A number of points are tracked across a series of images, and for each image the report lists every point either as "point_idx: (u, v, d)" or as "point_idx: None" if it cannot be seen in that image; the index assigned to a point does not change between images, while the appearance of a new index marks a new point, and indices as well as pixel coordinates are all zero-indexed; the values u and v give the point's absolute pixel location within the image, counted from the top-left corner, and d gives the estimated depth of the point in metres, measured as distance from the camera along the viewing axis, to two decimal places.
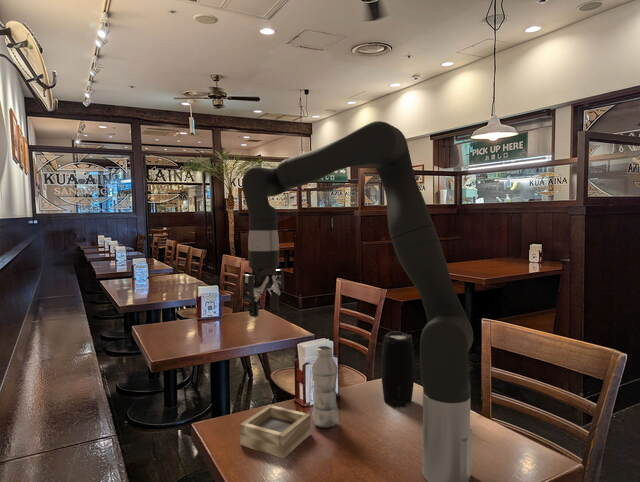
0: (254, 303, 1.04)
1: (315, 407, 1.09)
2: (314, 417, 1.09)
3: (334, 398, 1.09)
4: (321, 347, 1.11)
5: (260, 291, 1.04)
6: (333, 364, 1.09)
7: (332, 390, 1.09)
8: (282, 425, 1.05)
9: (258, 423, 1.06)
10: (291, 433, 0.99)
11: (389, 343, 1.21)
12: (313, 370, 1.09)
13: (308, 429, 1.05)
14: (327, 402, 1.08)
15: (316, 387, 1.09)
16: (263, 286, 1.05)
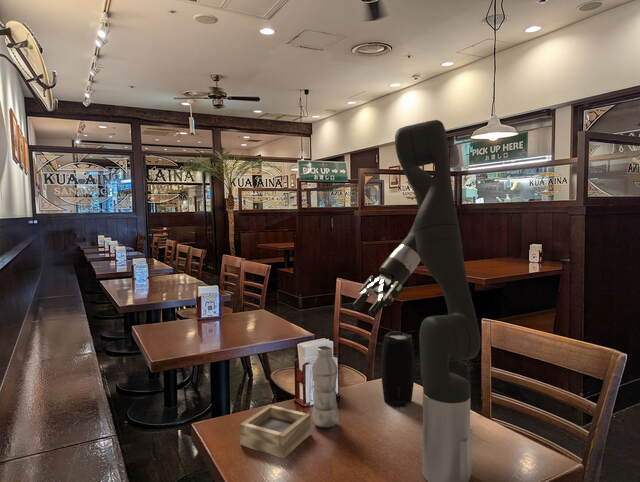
0: (360, 296, 1.19)
1: (315, 407, 1.09)
2: (314, 417, 1.09)
3: (334, 398, 1.09)
4: (321, 347, 1.11)
5: (366, 287, 1.18)
6: (333, 364, 1.09)
7: (332, 390, 1.09)
8: (282, 425, 1.05)
9: (258, 423, 1.06)
10: (291, 433, 0.99)
11: (389, 343, 1.21)
12: (313, 370, 1.09)
13: (308, 429, 1.05)
14: (327, 402, 1.08)
15: (316, 387, 1.09)
16: (371, 284, 1.17)
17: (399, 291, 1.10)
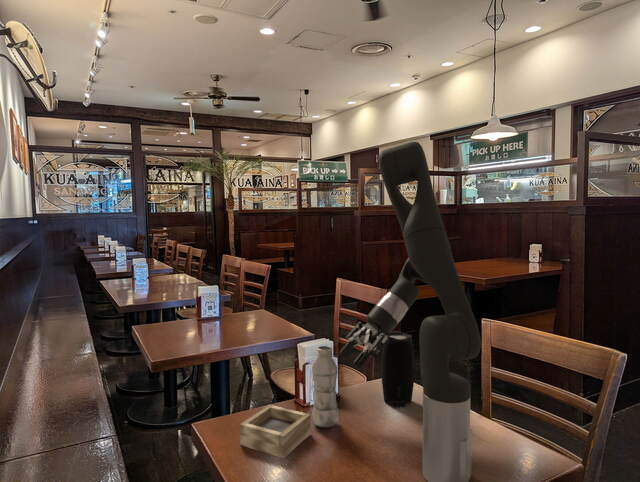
0: (347, 343, 1.18)
1: (315, 407, 1.09)
2: (314, 417, 1.09)
3: (334, 398, 1.09)
4: (321, 347, 1.11)
5: (353, 335, 1.17)
6: (333, 364, 1.09)
7: (332, 390, 1.09)
8: (282, 425, 1.05)
9: (258, 423, 1.06)
10: (291, 433, 0.99)
11: (389, 343, 1.21)
12: (313, 370, 1.09)
13: (308, 429, 1.05)
14: (327, 402, 1.08)
15: (316, 387, 1.09)
16: (357, 332, 1.16)
17: (384, 343, 1.08)
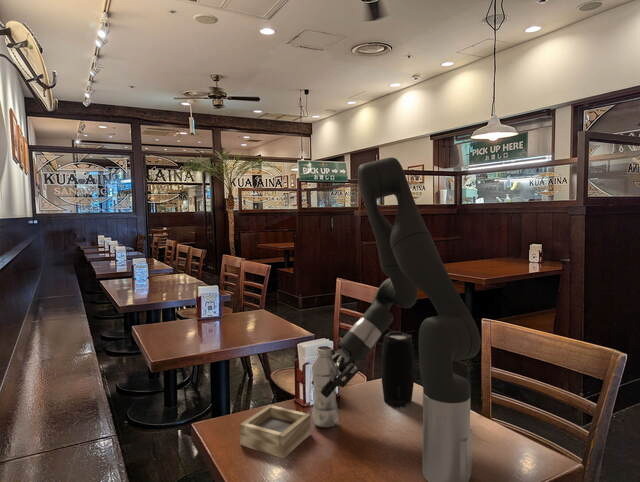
0: None
1: (315, 407, 1.09)
2: (314, 417, 1.09)
3: (334, 398, 1.09)
4: (321, 347, 1.11)
5: None
6: (333, 364, 1.09)
7: None
8: (282, 425, 1.05)
9: (258, 423, 1.06)
10: (291, 433, 0.99)
11: (389, 343, 1.21)
12: (313, 370, 1.09)
13: (308, 429, 1.05)
14: (327, 402, 1.08)
15: (316, 387, 1.09)
16: None
17: (353, 374, 1.06)
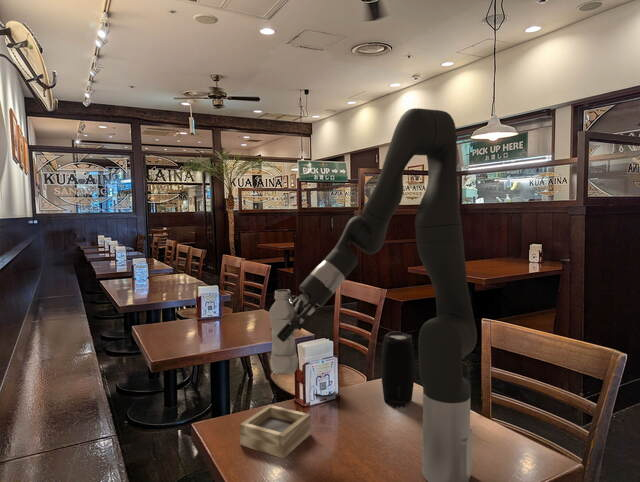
0: None
1: (272, 353, 1.03)
2: (271, 364, 1.03)
3: (292, 344, 1.03)
4: (279, 290, 1.05)
5: None
6: (291, 307, 1.02)
7: (290, 335, 1.02)
8: (282, 425, 1.05)
9: (258, 423, 1.06)
10: (291, 433, 0.99)
11: (389, 343, 1.21)
12: (270, 314, 1.02)
13: (308, 429, 1.05)
14: (284, 347, 1.02)
15: (273, 332, 1.02)
16: None
17: (311, 315, 0.99)
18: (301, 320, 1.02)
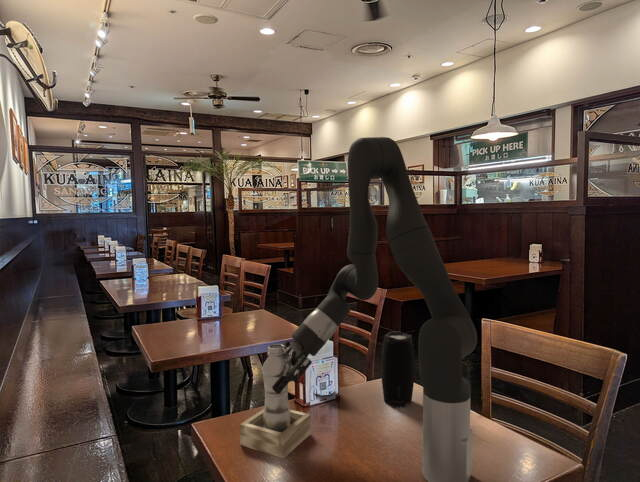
0: None
1: (265, 410, 1.02)
2: (264, 420, 1.02)
3: (285, 400, 1.02)
4: (273, 345, 1.04)
5: None
6: (284, 364, 1.01)
7: (283, 392, 1.01)
8: None
9: (258, 423, 1.06)
10: (291, 433, 0.99)
11: (389, 343, 1.21)
12: (263, 370, 1.01)
13: (308, 429, 1.05)
14: (277, 404, 1.01)
15: (266, 388, 1.01)
16: None
17: (306, 366, 0.98)
18: (296, 371, 1.01)
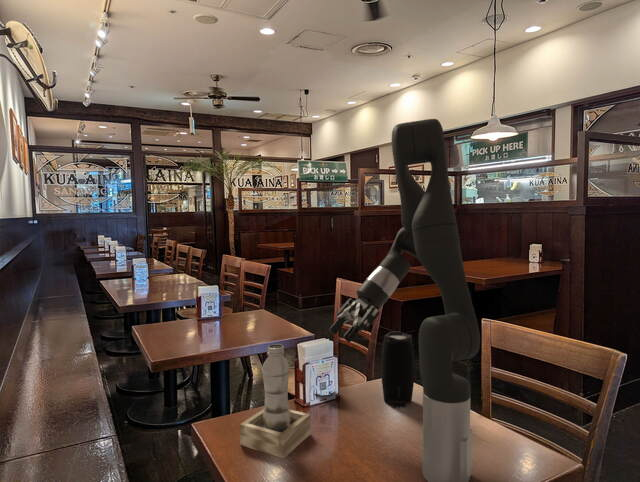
0: (337, 320, 1.15)
1: (265, 410, 1.02)
2: (264, 420, 1.02)
3: (285, 400, 1.02)
4: (272, 345, 1.04)
5: (343, 311, 1.14)
6: (284, 364, 1.01)
7: (283, 391, 1.01)
8: None
9: (258, 423, 1.06)
10: (291, 433, 0.99)
11: (389, 343, 1.21)
12: (263, 370, 1.01)
13: (308, 429, 1.05)
14: (277, 404, 1.01)
15: (266, 388, 1.01)
16: (347, 308, 1.13)
17: (375, 316, 1.05)
18: (364, 322, 1.08)
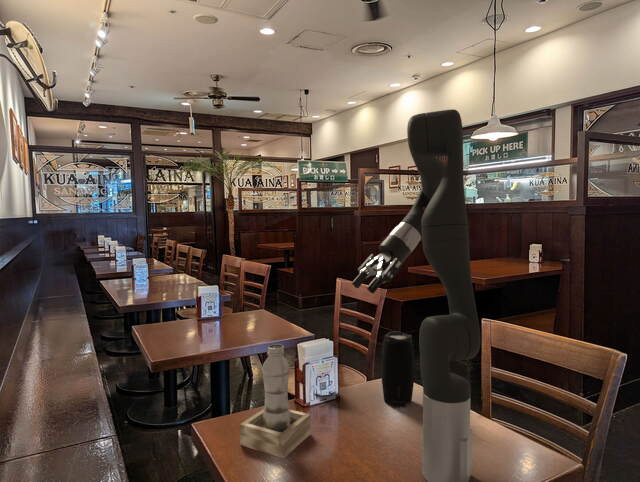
0: None
1: (265, 410, 1.02)
2: (264, 420, 1.02)
3: (285, 400, 1.02)
4: (272, 345, 1.04)
5: (365, 265, 1.16)
6: (284, 364, 1.01)
7: (283, 391, 1.01)
8: None
9: (258, 423, 1.06)
10: (291, 433, 0.99)
11: (389, 343, 1.21)
12: (263, 370, 1.01)
13: (308, 429, 1.05)
14: (277, 404, 1.01)
15: (266, 388, 1.01)
16: (370, 262, 1.15)
17: (398, 268, 1.08)
18: (387, 274, 1.10)
